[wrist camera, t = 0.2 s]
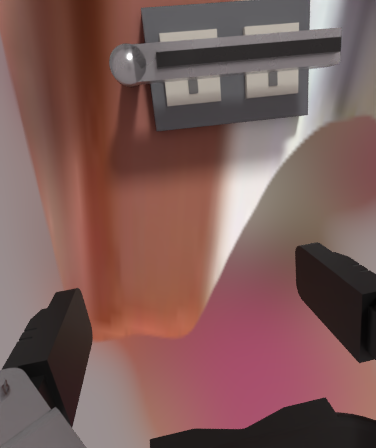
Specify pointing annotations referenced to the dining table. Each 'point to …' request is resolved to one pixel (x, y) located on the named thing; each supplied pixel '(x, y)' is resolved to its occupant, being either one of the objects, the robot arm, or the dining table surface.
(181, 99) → the label panel
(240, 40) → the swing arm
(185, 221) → the dining table surface
